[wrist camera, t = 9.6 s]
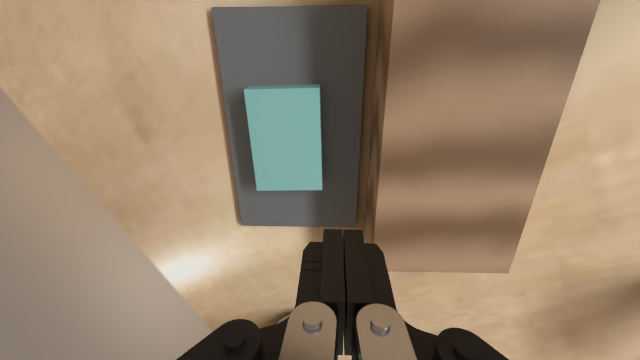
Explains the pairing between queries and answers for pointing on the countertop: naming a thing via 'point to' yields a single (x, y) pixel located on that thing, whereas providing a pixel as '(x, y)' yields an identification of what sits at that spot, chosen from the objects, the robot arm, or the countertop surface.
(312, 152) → the block
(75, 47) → the countertop surface
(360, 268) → the robot arm
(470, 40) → the brown wooden block
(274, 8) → the mat
